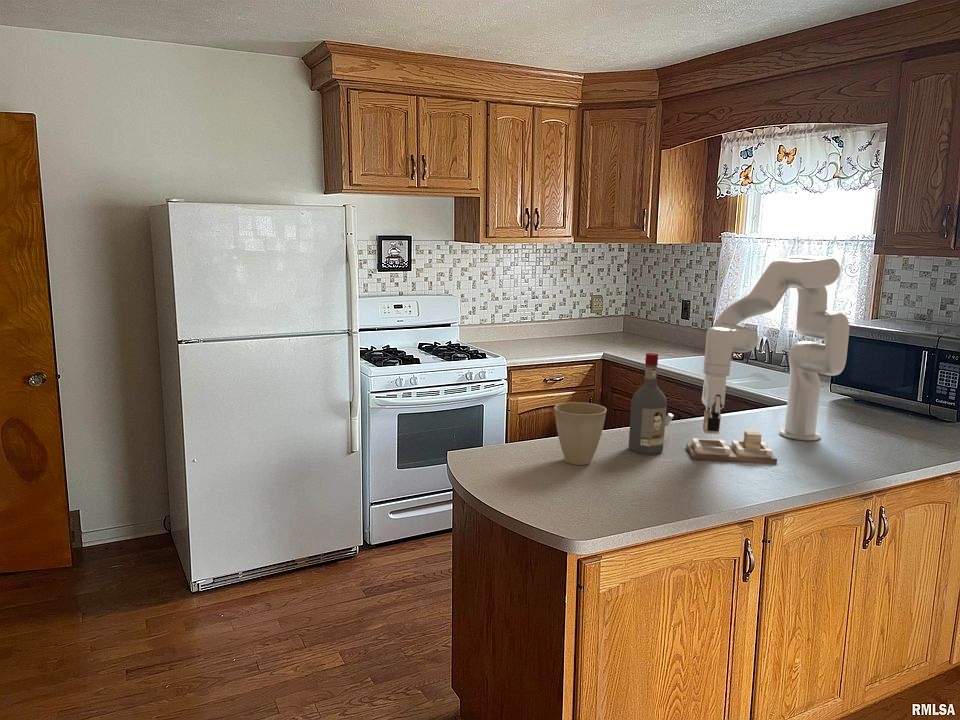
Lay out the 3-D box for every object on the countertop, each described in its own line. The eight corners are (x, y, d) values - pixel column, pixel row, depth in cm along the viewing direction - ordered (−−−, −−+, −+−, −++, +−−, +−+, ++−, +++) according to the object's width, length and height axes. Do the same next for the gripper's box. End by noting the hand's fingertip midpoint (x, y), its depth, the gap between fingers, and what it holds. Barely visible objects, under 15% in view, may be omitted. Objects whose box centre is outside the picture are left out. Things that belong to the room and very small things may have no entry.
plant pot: (612, 459, 222) (615, 407, 219) (589, 473, 210) (592, 417, 207) (567, 450, 230) (569, 399, 227) (542, 462, 218) (544, 409, 215)
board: (686, 447, 235) (688, 424, 234) (765, 451, 233) (768, 428, 231) (693, 459, 223) (694, 435, 222) (776, 464, 221) (779, 439, 220)
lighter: (651, 433, 249) (652, 410, 248) (654, 432, 251) (655, 409, 249) (669, 438, 244) (671, 414, 243) (672, 437, 245) (674, 413, 244)
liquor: (624, 447, 233) (630, 352, 228) (647, 444, 238) (654, 350, 232) (643, 456, 225) (650, 357, 220) (667, 452, 230) (674, 355, 224)
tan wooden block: (702, 429, 229) (704, 410, 228) (716, 430, 229) (718, 411, 228) (705, 433, 225) (707, 413, 224) (719, 434, 225) (720, 414, 224)
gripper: (698, 363, 232) (693, 420, 236) (709, 374, 216) (703, 435, 219) (723, 364, 231) (718, 422, 235) (736, 375, 215) (730, 437, 218)
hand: (711, 428), depth 227 cm, fingers closed on tan wooden block, 3 cm apart
